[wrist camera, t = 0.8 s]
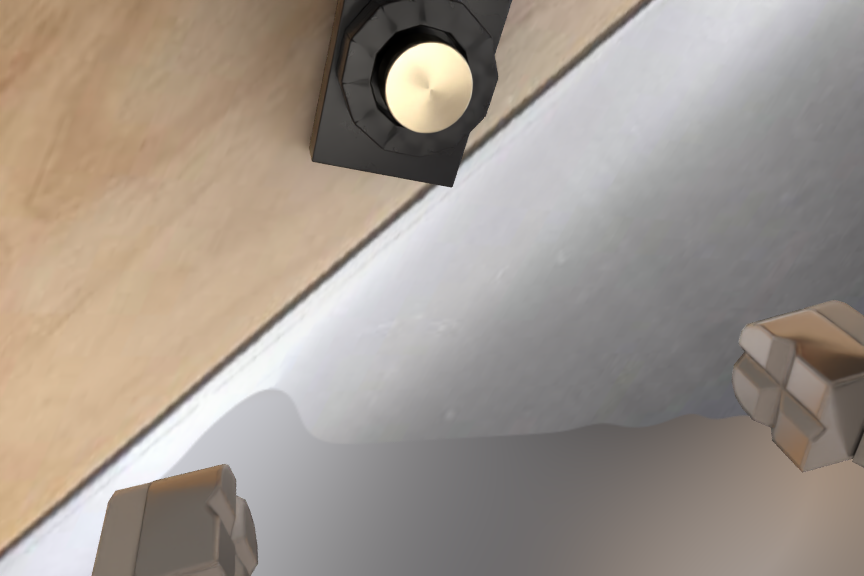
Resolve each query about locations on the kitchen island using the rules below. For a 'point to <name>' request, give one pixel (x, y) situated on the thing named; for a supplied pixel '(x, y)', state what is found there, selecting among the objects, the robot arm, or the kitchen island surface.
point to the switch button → (425, 83)
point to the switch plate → (360, 98)
